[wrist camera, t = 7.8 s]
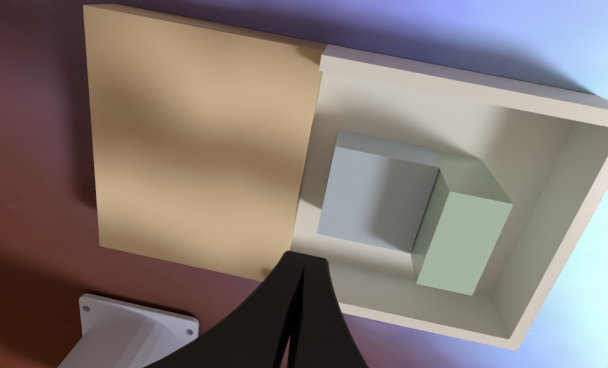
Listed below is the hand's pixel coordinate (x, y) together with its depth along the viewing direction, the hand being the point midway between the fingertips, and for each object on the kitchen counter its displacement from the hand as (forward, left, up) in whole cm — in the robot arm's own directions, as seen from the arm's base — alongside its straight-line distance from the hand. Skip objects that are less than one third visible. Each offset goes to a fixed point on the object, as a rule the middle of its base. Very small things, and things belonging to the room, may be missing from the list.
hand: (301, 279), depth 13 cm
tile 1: (0, -5, -6) cm, 8 cm away
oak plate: (0, +6, -9) cm, 11 cm away
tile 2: (0, -3, -9) cm, 9 cm away
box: (0, -5, -9) cm, 10 cm away
